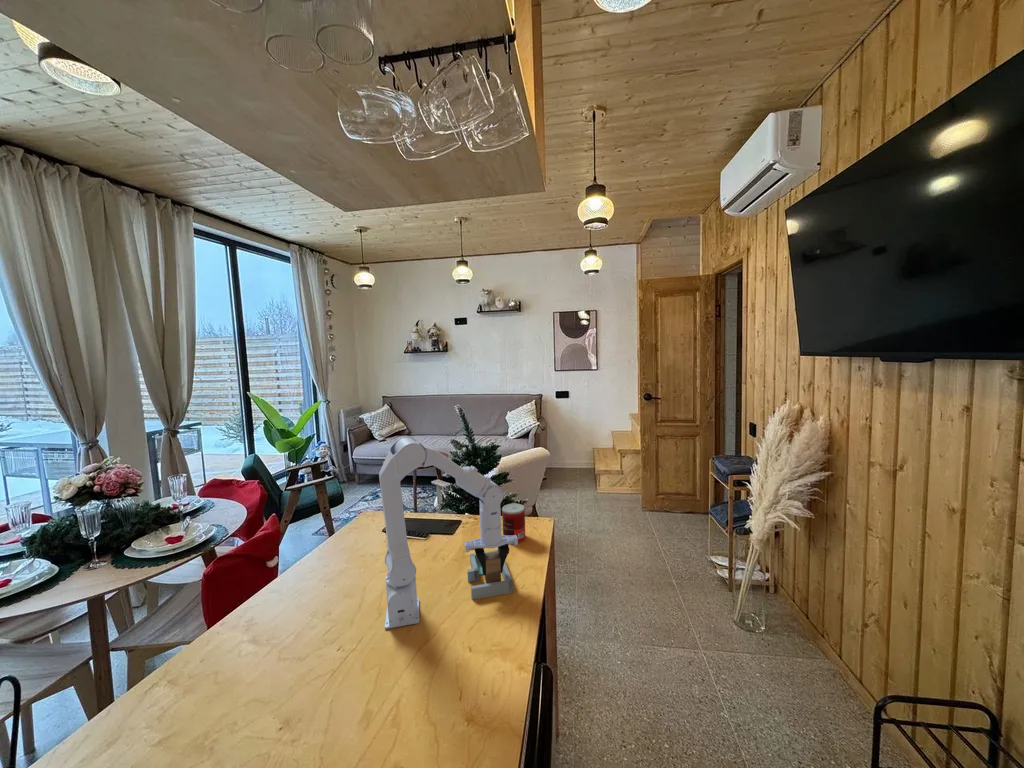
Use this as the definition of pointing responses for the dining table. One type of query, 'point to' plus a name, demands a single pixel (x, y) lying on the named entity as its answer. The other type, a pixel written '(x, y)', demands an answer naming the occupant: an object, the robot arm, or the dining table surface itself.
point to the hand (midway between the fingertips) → (492, 572)
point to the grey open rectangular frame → (489, 588)
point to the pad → (479, 569)
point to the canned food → (514, 520)
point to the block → (492, 567)
